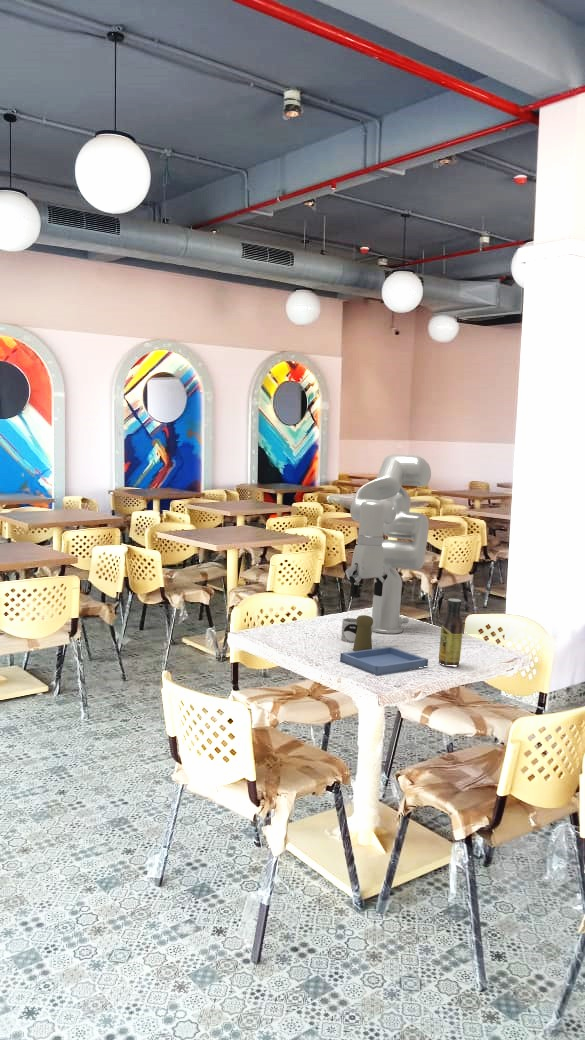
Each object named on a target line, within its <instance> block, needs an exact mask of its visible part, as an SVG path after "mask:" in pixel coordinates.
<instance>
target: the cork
mask: <svg viewBox="0 0 585 1040" xmlns="http://www.w3.org/2000/svg"><path fill="white" fill-rule="evenodd" d="M355 619H356V623H357V625H358V627H357V632H356V637H355V642H354V643H353V648H352V652H354V651H362V650H369V649H373V641H372V638H373V637H372V636H371V626H372V625H373V619H372V616H369V615H367V614H366V615H364V614H361V615H359V616H357V617H356V618H355Z"/></svg>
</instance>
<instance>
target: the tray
mask: <svg viewBox="0 0 585 1040" xmlns="http://www.w3.org/2000/svg"><path fill="white" fill-rule="evenodd" d="M339 654H340V657H339V662H341V663H343V664H346V665H348V666H351V667H353V668H356V669H358V670H361V671H364V672H367V673H370V674H372V675H374V674H375V676H381V674H383V675H388V673H389V674H394V673H395V672H396V673H401V672H400V671H402V672H406V671H405V670H408V671H411V670H410V669H414V668H419V667H424V666H428V665H429V658H426V657H422V656H420V655H416V654H413V653H410V652H407V651H404V650H402V649H398V648H396V647H393V646H386V647H385V646H384V647H378V648H377V647H376V648H372V649H369V650H362V651H348V652H342V653H339ZM428 667H429V666H428ZM414 670H415V669H414Z"/></svg>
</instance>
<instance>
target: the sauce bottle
mask: <svg viewBox="0 0 585 1040" xmlns="http://www.w3.org/2000/svg"><path fill="white" fill-rule="evenodd" d="M446 604H447V610H446V614H445V617H444V619H443V621H442V623H441V628H440V639H439V650H438V651H439V652H438V664H439V663H441V664H444V665H458V664H460V661H461V651H462V641H463V640H462V639H463V627H464V623H463V619H462V617H461V607H462V600H461V599H459V598H448V599H447V603H446ZM441 664H440V665H441ZM458 666H459V665H458Z"/></svg>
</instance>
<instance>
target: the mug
mask: <svg viewBox="0 0 585 1040" xmlns="http://www.w3.org/2000/svg"><path fill="white" fill-rule="evenodd" d="M356 619H357V618H355V617H354V618H352V617H350V618H343V619H342V620H341V621H342V625H341V637H340V638H341V640H340V641H342V642H345V643H351V644H354V642H355V637H356V632H357V627H358V625H357V623H356ZM372 636H373V631H372V626H371V637H372Z"/></svg>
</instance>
